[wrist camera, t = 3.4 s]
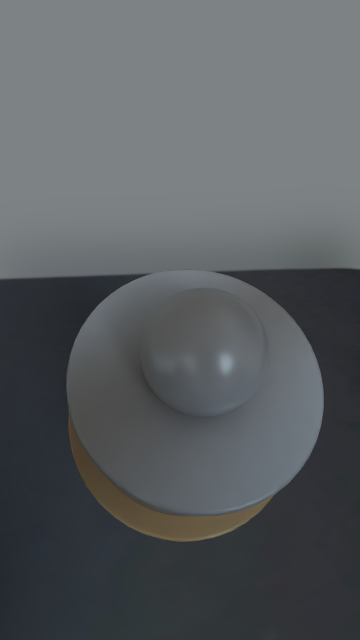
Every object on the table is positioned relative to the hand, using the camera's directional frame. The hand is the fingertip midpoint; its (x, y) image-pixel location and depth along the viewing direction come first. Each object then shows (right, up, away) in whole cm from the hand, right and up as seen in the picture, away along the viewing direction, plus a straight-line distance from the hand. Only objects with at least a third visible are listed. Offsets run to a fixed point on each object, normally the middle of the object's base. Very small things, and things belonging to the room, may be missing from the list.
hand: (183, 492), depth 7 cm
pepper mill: (-1, -3, +9) cm, 9 cm away
